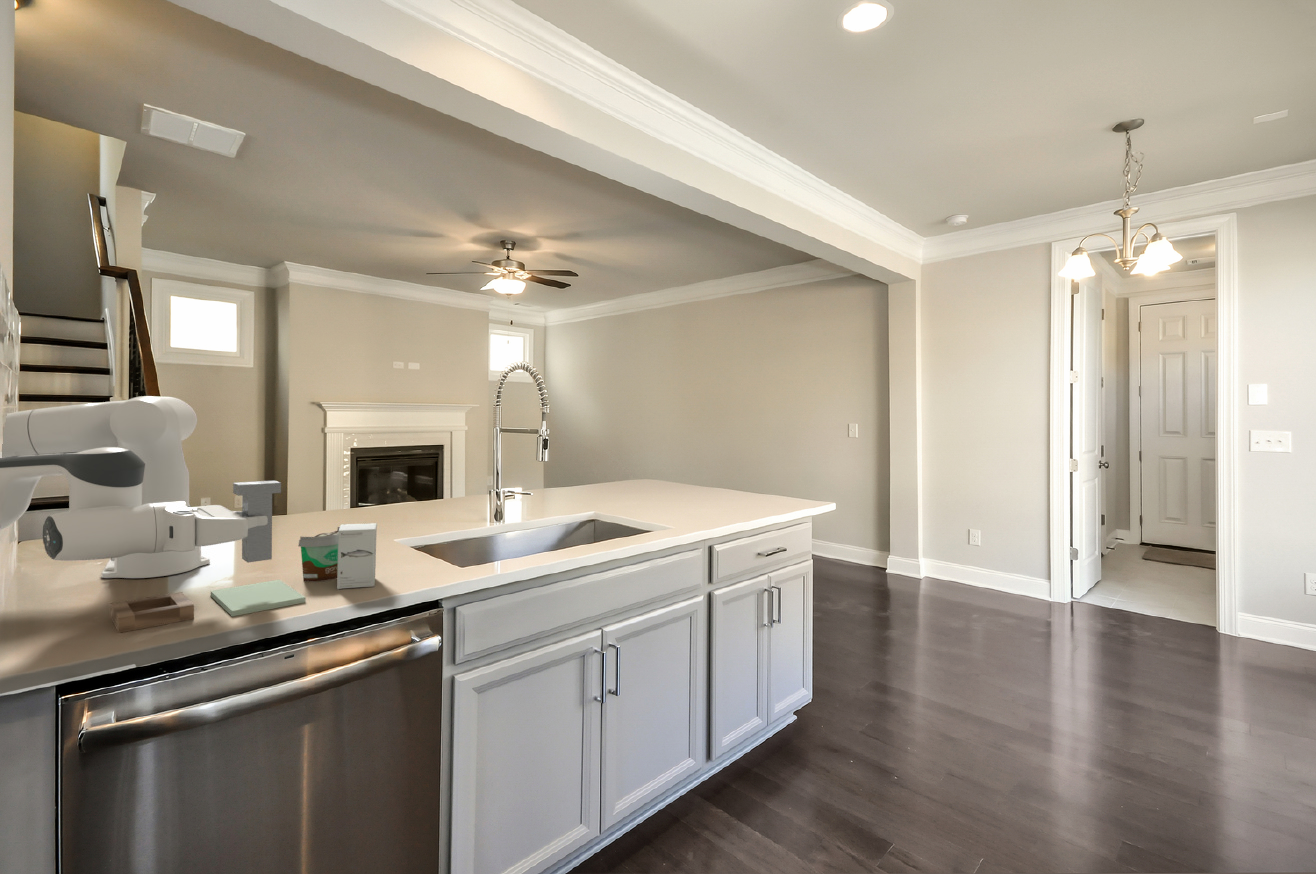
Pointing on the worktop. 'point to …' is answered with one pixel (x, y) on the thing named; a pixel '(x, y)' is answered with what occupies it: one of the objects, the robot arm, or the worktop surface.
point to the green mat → (257, 597)
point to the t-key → (254, 504)
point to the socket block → (151, 611)
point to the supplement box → (356, 555)
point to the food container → (320, 556)
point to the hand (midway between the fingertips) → (262, 517)
